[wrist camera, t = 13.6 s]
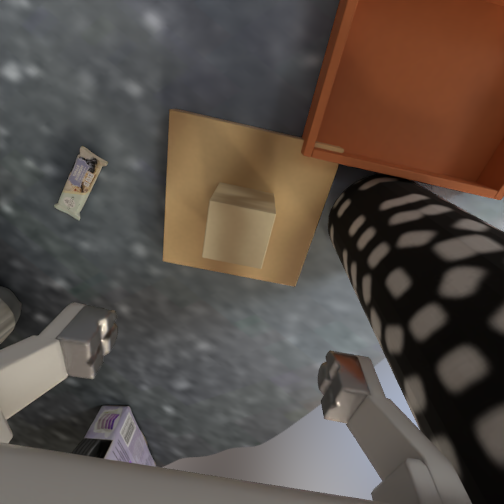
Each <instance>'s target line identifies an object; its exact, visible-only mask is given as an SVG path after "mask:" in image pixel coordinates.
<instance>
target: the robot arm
mask: <svg viewBox="0 0 504 504" xmlns="http://www.w3.org/2000/svg"><path fill="white" fill-rule="evenodd" d="M116 319H117V313H116V311H114V310H109V309H105V308H100V307H95V306H91V305H85V304H80V303H75V302H73V303H71V304H69V305H68V306H67V307H66V308H65V309H64V310H63V311H62V312H61V313H60V314H59V315H58V316H57V317H56V318H55V319H54V320H53V321H52V322H51V323H50V324H49V325H48V326H47V327H46V328H45V329H44V330H43V331H42V332H41V333H40V334H39V335H38V336H35V335H33V336H31V337H28V338H26V339H24V340H22V341H19V342H17V343H15V344H12V345H10V346H8V347H6V348H3V349H1V350H0V504H472V503H471V501H470V499H469V497H468V495H467V493H466V491H465V489H464V487H463V485H462V483H461V481H460V479H459V477H458V475H457V473H456V471H455V469H454V467H453V464H452V463H451V462H450V461H449V460H448V459H447V458H446V457H445V456H444V455H443V454H442V453H441V452H440V451H439V450H438V449H437V448H436V447H435V446H434V444H433V443H432V442H431V441H430V440H429V439H428V438H427V437H426V436H425V435H424V434H423V433H422V432H421V431H420V430H419V429H418V428H417V427H416V426H415V425H414V424H413V423H412V422H411V420H410V419H409V418H407V416H406V415H405V414H404V413H403V412H402V411H401V410H400V409H399V408H398V407H397V406H396V405H395V404H394V403H393V402H392V401H391V400H390V399H388V398H386V397H385V394H384V392H383V389H382V387H381V384H380V382H379V379H378V377H377V374H376V372H375V369H374V367H373V364H372V362H371V360H370V359H369V357H364V356H358V355H353V354H347V353H342V352H336V351H329V352H328V353H327V355H326V362H325V363H323V364H321V366H320V369H319V372H318V387H319V390H320V391H321V393H322V394H323V395H324V396H323V398H322V400H321V404H322V410H323V415H324V419H327V420H332V421H337V422H342V423H347V424H346V425H347V427H348V428H349V430H350V431H351V433H352V434H353V436H354V437H355V439H356V440H357V442H358V444H359V445H360V447H361V448H362V450H363V451H364V453H365V454H366V456H367V457H368V459H369V461H370V462H371V464H372V465H373V467H374V468H375V470H376V471H377V473H378V475H379V476H380V478H381V479H382V482H381V483H380V484H379V485H378V486H377V487H376V488H375V489H374V490H373V491H372V493H371V494H372V498H373V501H371V500H365V499H359V498H352V497H346V496H339V495H333V494H327V493H320V492H313V491H308V490H301V489H294V488H288V487H282V486H275V485H269V484H263V483H257V482H250V481H243V480H237V479H231V478H225V477H218V476H212V475H205V474H199V473H193V472H186V471H180V470H174V469H167V468H161V467H154V466H148V465H142V464H135V463H129V462H122V461H116V460H110V459H103V458H97V457H90V456H84V455H78V454H71V453H65V452H58V451H52V450H46V449H39V448H33V447H26V446H20V445H14V444H8V443H9V441H10V440H11V439H12V437H13V435H12V431H11V429H10V427H9V425H8V423H7V421H6V420H7V419H8V418H10V417H11V416H12V415H14V414H15V413H17V412H18V411H20V410H21V409H23V408H24V407H25V406H27V405H28V404H30V403H31V402H33V401H34V400H35V399H37V398H38V397H40V396H41V395H43V394H44V393H46V392H47V391H48V390H50V389H51V388H53V387H54V386H56V385H57V384H58V383H60V382H61V381H63V380H64V379H66V378H67V377H68V376H74V377H81V378H88V379H94V377H95V375H96V374H97V372H98V371H99V369H100V367H101V366H102V364H103V363H104V362H103V356H104V355H106V354H108V353H109V352H110V351H111V350H112V348H113V346H114V344H115V342H116V339H117V335H118V326H117V325H116V324H115V323H114V322H115V321H116Z"/></svg>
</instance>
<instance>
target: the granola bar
mask: <svg viewBox="0 0 504 504" xmlns="http://www.w3.org/2000/svg"><path fill="white" fill-rule="evenodd" d="M107 164H108V162H107V161H105V160H103V159H101V158H99V157H98V156H96V155H95V154H93V153H92V152H91V151H89V150H88V149H87V148H85V147H84V146H81V148H80V154H79V155H78V156H77V159H76V161H75V163H74V165H73V168H72V170H71V172H70V175H69V177H68V179H67V182H66V184H65V187H64V189H63V191H62V194H61V196H60V199H59V201H58V203H57V204H55V205H54V207H55V208H57V209H58V210H60V211H62V212H65V213H67V214H69V215H71V216H72V217H74V218H75V219H77V220H80V211H81V210H82V208H83V206H84V204H85V202H86V200H87V198H88V196H89V194H90V192H91V190H92V187H93V185H94V183H95V181H96V179H97V177H98V175H99V173H100V171H101V168H102V166H107Z"/></svg>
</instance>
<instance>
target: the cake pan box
mask: <svg viewBox="0 0 504 504" xmlns="http://www.w3.org/2000/svg"><path fill="white" fill-rule="evenodd" d="M147 445H148V444H147V442H146V440H145V437H144V435H143V433H142V431H141V430H140V429H139V427H138V425H137V422H136V420H135V418H134V416H133V414H132V412H131V409H130V407H129V406H118V405H102V407H101V408H100V410H99V412H98V414H97V416H96V417H95V419H94V421H93V423H92V424H91V426H90V428H89V429H88V431H87V433H86V435H85V437H84V439H83V440H82V441H81V442H80V443H79V444H78V446H77V447H76V448H75V449H74V451H73V452H72V453H71V454H78V455H84V456H90V457H97V458H103V459H110V460H116V461H122V462H129V463H135V464H142V465H148V466H154V467H155V465H156V463H155V461H154V460H153V458H152V456H151V454H150V451H149V449H148V447H147Z"/></svg>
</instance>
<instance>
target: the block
mask: <svg viewBox="0 0 504 504" xmlns="http://www.w3.org/2000/svg"><path fill="white" fill-rule="evenodd" d="M275 217H276V209H275V198H274V194H273V193H269V192H264V191H259V190H255V189H250V188H245V187H241V186H236V185H231V184H227V183H222V182H219V184H218V186H217V188H216V190H215V191H214V193H213V195H212V197H211V199H210V200H209V207H208V215H207V222H206V230H205V238H204V245H203V253H202V257H203V258H208V259H213V260H218V261H223V262H228V263H233V264H238V265H243V266H248V267H254V268H259V269H261V268H262V265H263V262H264V258H265V254H266V250H267V247H268V243H269V239H270V236H271V232H272V228H273V224H274V221H275Z"/></svg>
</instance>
